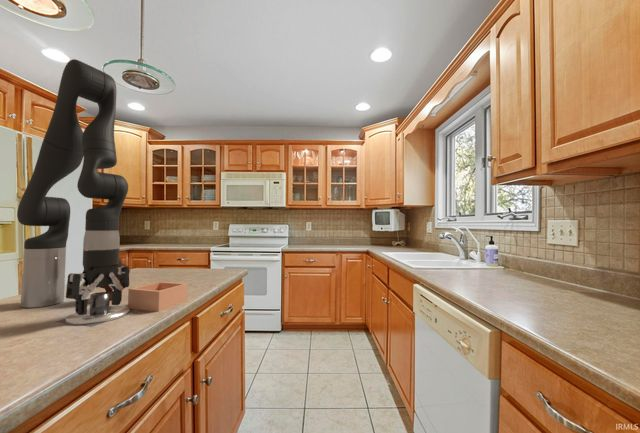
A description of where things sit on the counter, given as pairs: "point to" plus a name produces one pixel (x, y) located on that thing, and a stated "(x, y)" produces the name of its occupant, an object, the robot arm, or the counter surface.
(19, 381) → the counter surface
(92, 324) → the mat
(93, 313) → the lid
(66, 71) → the robot arm
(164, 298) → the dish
